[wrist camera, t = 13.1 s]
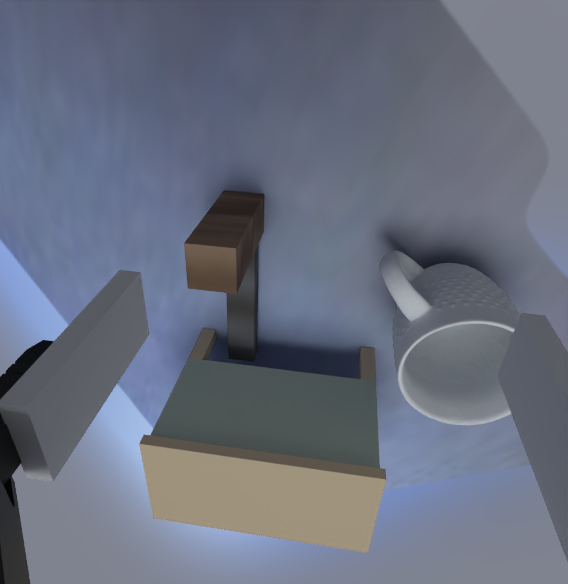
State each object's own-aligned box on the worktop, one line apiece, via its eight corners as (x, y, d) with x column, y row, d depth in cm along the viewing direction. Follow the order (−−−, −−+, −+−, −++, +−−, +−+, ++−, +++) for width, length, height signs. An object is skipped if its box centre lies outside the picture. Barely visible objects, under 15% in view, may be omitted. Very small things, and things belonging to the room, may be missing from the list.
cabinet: (199, 324, 54) (139, 443, 39) (378, 345, 52) (386, 479, 37) (204, 396, 60) (154, 522, 45) (364, 417, 58) (366, 557, 43)
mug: (340, 264, 47) (335, 342, 36) (428, 192, 42) (453, 256, 31) (433, 351, 51) (453, 444, 40) (523, 294, 46) (575, 384, 35)
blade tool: (223, 190, 45) (184, 243, 34) (264, 194, 44) (236, 248, 34) (228, 347, 55) (199, 423, 45) (261, 351, 55) (239, 428, 44)
